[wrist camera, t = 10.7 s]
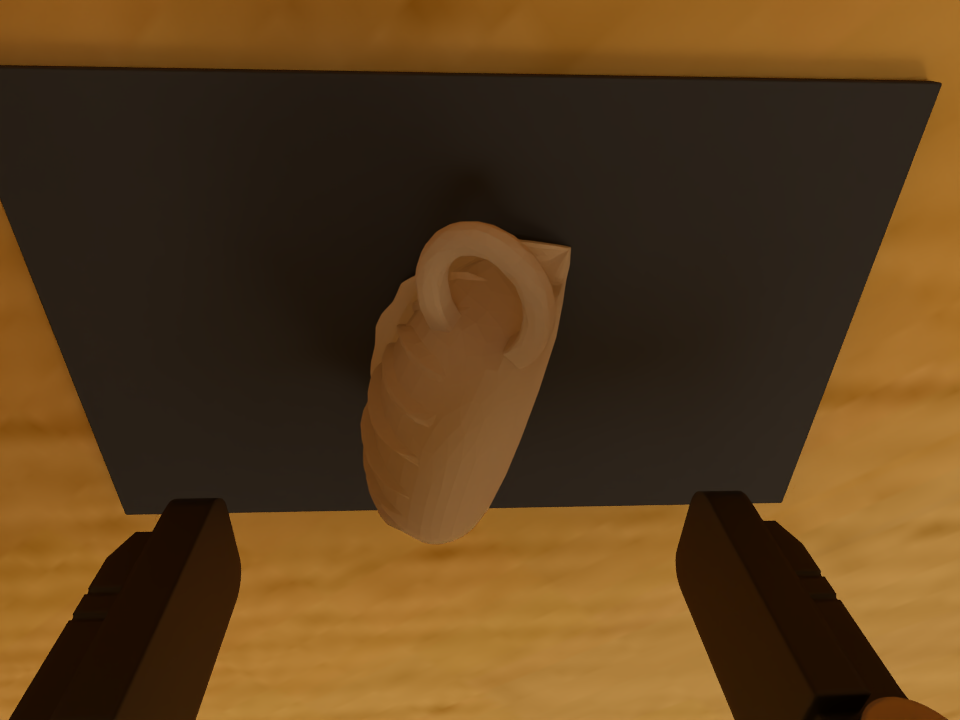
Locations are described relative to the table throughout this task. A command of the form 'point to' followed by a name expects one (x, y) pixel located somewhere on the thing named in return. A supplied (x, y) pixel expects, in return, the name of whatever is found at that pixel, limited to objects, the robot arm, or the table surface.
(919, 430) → the table surface
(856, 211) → the mat
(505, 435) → the decorative ornament
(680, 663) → the table surface
